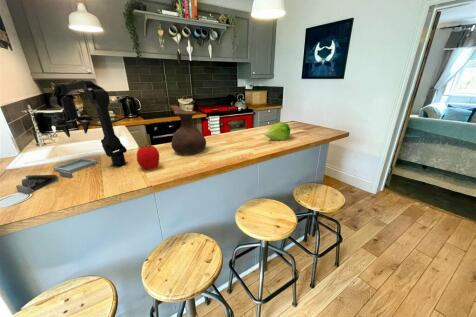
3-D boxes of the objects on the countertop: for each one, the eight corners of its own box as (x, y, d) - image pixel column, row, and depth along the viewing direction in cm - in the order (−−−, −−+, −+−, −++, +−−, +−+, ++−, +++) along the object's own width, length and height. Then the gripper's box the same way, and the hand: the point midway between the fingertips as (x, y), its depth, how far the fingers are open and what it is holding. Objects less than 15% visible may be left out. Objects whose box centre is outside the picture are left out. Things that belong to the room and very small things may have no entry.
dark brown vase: (203, 146, 145) (200, 104, 135) (209, 156, 126) (206, 107, 116) (172, 150, 139) (166, 105, 128) (173, 160, 120) (166, 109, 109)
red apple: (151, 174, 102) (147, 149, 97) (133, 171, 106) (128, 147, 101) (166, 165, 112) (163, 143, 108) (149, 163, 116) (145, 141, 112)
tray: (97, 164, 115) (96, 160, 115) (69, 174, 102) (68, 170, 101) (83, 161, 119) (82, 158, 118) (54, 171, 106) (53, 167, 105)
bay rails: (73, 178, 98) (71, 172, 97) (29, 195, 84) (26, 189, 83) (62, 175, 101) (60, 170, 100) (18, 192, 86) (15, 185, 85)
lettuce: (258, 142, 156) (259, 122, 150) (282, 138, 164) (284, 119, 159) (269, 147, 143) (270, 125, 138) (294, 143, 152) (296, 123, 147)
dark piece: (49, 178, 97) (17, 170, 87) (59, 175, 96) (28, 167, 85) (43, 197, 94) (9, 192, 83) (54, 195, 92) (20, 189, 81)
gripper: (77, 105, 122) (84, 130, 128) (40, 109, 106) (50, 137, 111) (90, 106, 118) (97, 132, 124) (53, 109, 102) (63, 139, 108)
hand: (77, 135), depth 117 cm, fingers open, 9 cm apart
